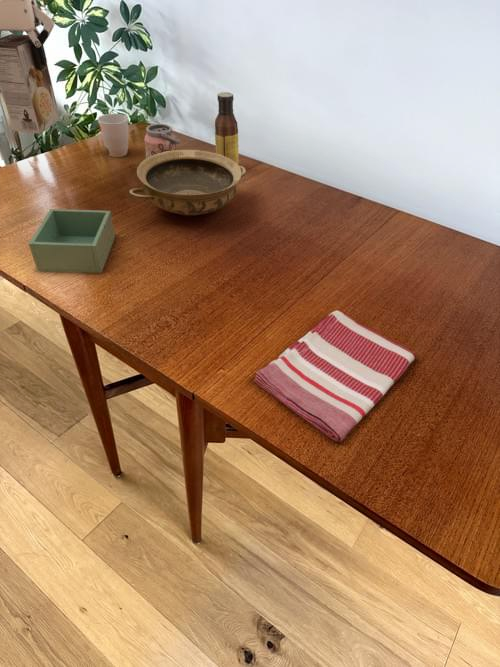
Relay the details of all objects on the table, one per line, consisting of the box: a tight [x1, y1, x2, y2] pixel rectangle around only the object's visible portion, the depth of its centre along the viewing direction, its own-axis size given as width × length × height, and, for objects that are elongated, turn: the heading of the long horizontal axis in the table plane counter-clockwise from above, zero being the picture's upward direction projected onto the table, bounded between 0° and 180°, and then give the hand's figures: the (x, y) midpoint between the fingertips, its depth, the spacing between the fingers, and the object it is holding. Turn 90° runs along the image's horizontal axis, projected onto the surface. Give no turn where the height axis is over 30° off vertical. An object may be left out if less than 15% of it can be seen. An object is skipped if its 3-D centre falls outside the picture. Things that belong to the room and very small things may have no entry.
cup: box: [97, 113, 130, 158], centre depth 132 cm, size 8×8×10 cm
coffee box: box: [0, 33, 61, 135], centre depth 94 cm, size 9×6×16 cm
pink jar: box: [143, 123, 181, 159], centre depth 124 cm, size 9×8×12 cm
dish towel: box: [253, 309, 417, 443], centre depth 75 cm, size 17×23×3 cm
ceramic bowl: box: [128, 149, 247, 217], centre depth 110 cm, size 30×24×10 cm
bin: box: [28, 208, 116, 274], centre depth 95 cm, size 13×14×7 cm
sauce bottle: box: [214, 91, 240, 165], centre depth 124 cm, size 6×6×20 cm
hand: (22, 67), depth 92 cm, fingers closed on coffee box, 7 cm apart
